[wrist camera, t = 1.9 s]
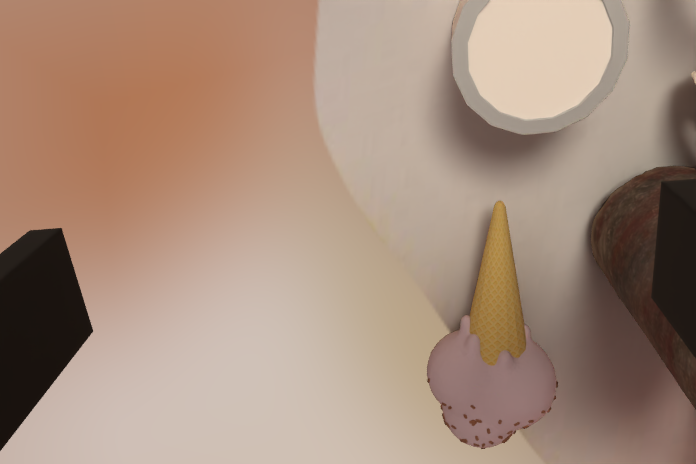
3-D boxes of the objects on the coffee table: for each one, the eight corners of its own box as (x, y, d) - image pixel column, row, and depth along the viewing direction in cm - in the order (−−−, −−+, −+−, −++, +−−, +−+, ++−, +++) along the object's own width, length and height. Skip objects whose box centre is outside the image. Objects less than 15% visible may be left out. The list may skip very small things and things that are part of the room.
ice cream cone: (534, 173, 35) (521, 394, 42) (409, 192, 34) (416, 416, 41) (593, 214, 30) (569, 459, 37) (448, 238, 29) (449, 486, 35)
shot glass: (598, -42, 30) (653, -38, 24) (565, 105, 33) (606, 144, 27) (450, -56, 30) (465, -55, 24) (430, 92, 33) (439, 127, 27)
